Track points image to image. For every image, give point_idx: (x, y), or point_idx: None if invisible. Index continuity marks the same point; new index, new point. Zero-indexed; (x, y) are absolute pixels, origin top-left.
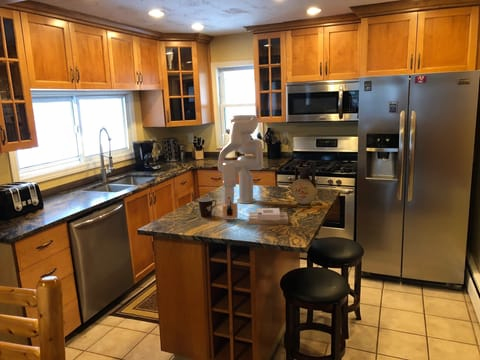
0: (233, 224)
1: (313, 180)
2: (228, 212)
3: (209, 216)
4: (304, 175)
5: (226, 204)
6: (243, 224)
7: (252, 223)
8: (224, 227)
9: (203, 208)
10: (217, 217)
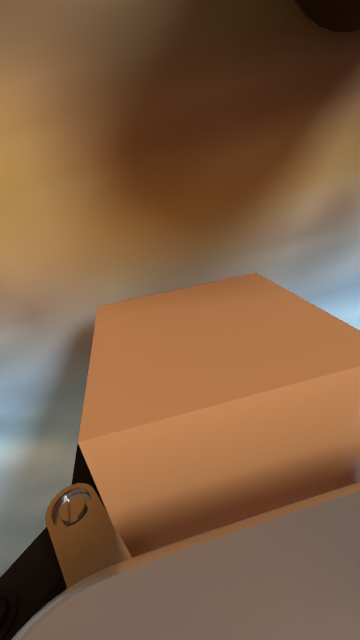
0: (29, 421)
1: None
2: (78, 449)
3: (300, 1)
4: None
5: (290, 448)
6: (60, 490)
7: None
8: None
9: None
10: (262, 162)
